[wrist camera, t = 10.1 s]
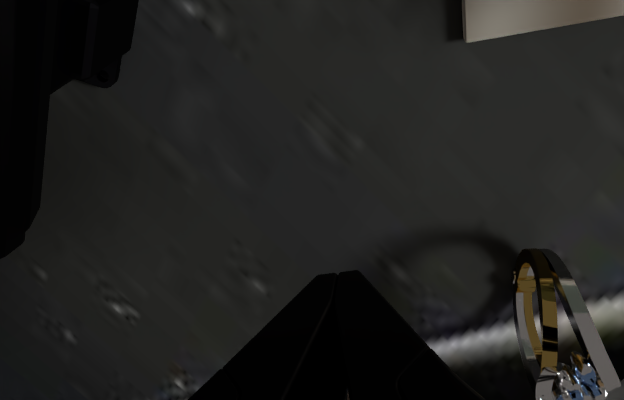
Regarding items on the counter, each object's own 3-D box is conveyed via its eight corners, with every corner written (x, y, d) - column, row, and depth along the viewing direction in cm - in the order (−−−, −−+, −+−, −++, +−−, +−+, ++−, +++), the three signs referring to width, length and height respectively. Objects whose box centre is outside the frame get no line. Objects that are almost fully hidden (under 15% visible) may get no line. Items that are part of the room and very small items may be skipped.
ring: (492, 217, 24) (554, 344, 17) (563, 213, 24) (654, 340, 17) (482, 326, 28) (530, 468, 21) (543, 324, 27) (613, 467, 20)
